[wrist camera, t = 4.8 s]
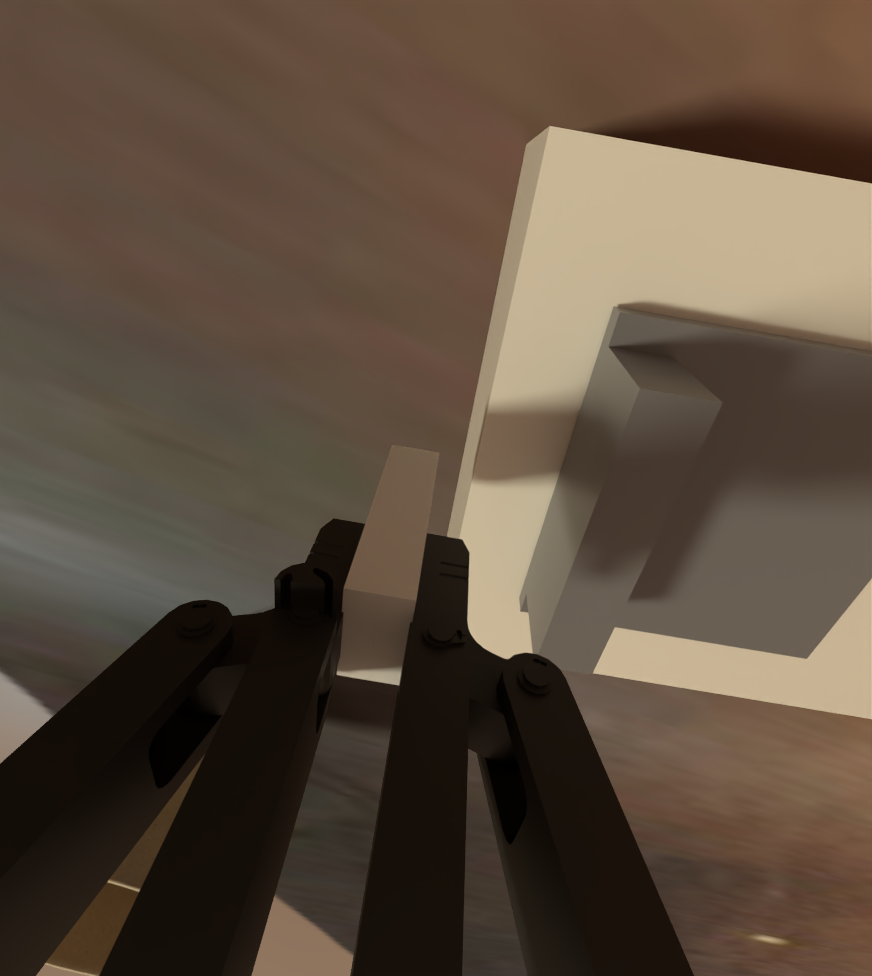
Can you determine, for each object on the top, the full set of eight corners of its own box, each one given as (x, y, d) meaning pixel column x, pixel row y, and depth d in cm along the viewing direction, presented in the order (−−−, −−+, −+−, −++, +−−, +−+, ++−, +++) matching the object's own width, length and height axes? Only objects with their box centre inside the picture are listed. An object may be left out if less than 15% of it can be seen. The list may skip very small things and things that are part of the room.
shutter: (519, 597, 21) (526, 684, 18) (613, 306, 15) (656, 346, 11) (796, 643, 22) (860, 738, 18) (1004, 374, 15) (1170, 435, 12)
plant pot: (102, 666, 39) (-98, 924, 26) (181, 557, 33) (-31, 826, 19) (267, 749, 43) (170, 1007, 30) (367, 667, 37) (301, 951, 23)
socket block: (445, 542, 30) (435, 647, 24) (526, 144, 20) (549, 126, 13) (963, 629, 31) (1101, 756, 24) (1310, 284, 20) (1729, 337, 13)
